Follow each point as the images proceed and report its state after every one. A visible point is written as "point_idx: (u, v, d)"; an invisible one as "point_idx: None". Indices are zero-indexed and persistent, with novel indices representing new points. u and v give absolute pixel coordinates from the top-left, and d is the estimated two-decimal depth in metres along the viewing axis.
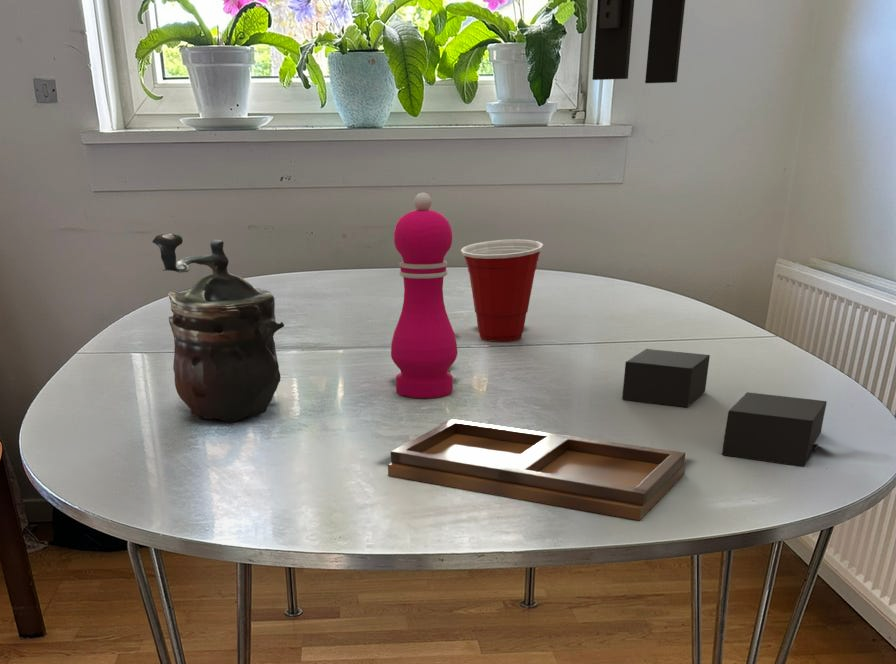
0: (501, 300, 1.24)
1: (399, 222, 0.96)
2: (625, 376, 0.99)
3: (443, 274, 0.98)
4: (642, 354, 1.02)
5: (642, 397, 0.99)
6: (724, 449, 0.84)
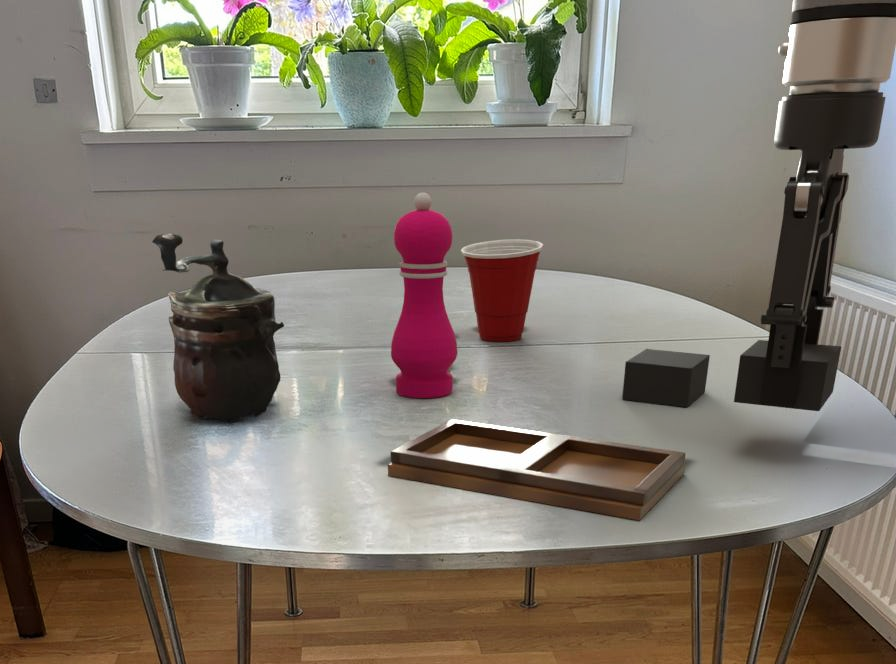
0: (501, 300, 1.24)
1: (399, 222, 0.96)
2: (625, 376, 0.99)
3: (443, 274, 0.98)
4: (642, 354, 1.02)
5: (642, 397, 0.99)
6: (736, 396, 0.81)
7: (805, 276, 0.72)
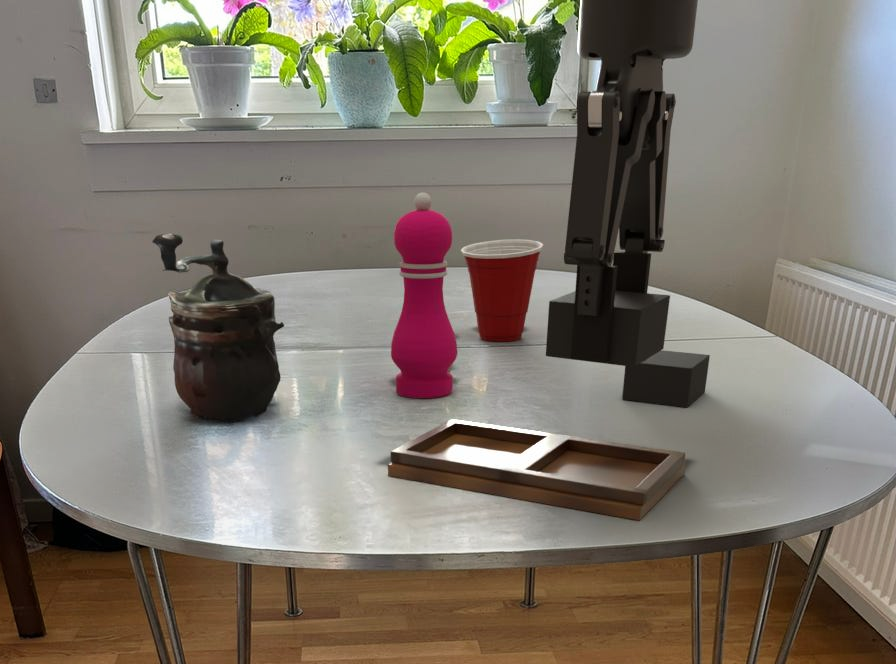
0: (501, 300, 1.24)
1: (399, 222, 0.96)
2: (625, 376, 0.99)
3: (443, 274, 0.98)
4: None
5: (642, 397, 0.99)
6: (547, 349, 0.71)
7: (603, 205, 0.62)
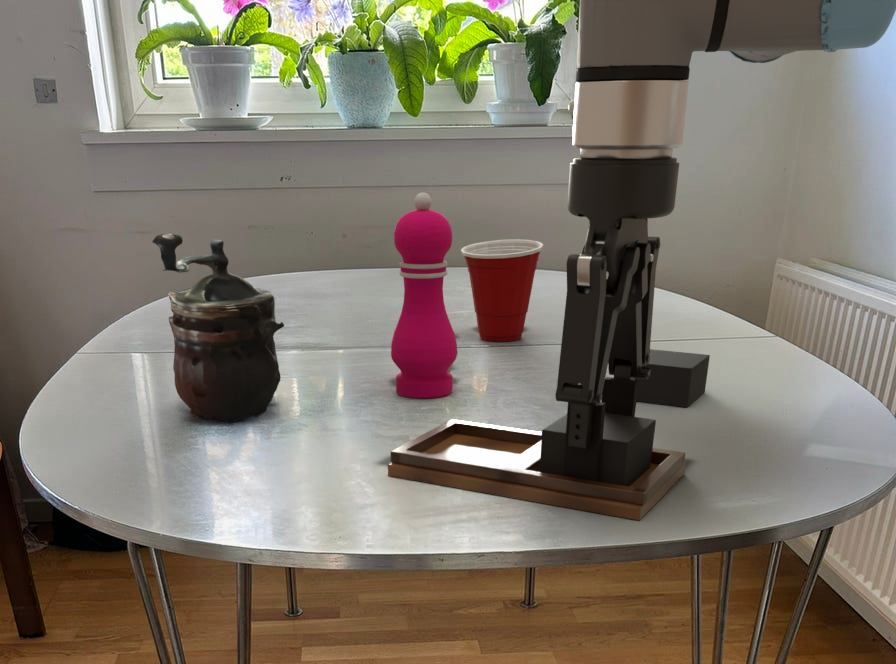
0: (501, 300, 1.24)
1: (399, 222, 0.96)
2: None
3: (443, 274, 0.98)
4: None
5: (642, 397, 0.99)
6: None
7: (591, 355, 0.66)
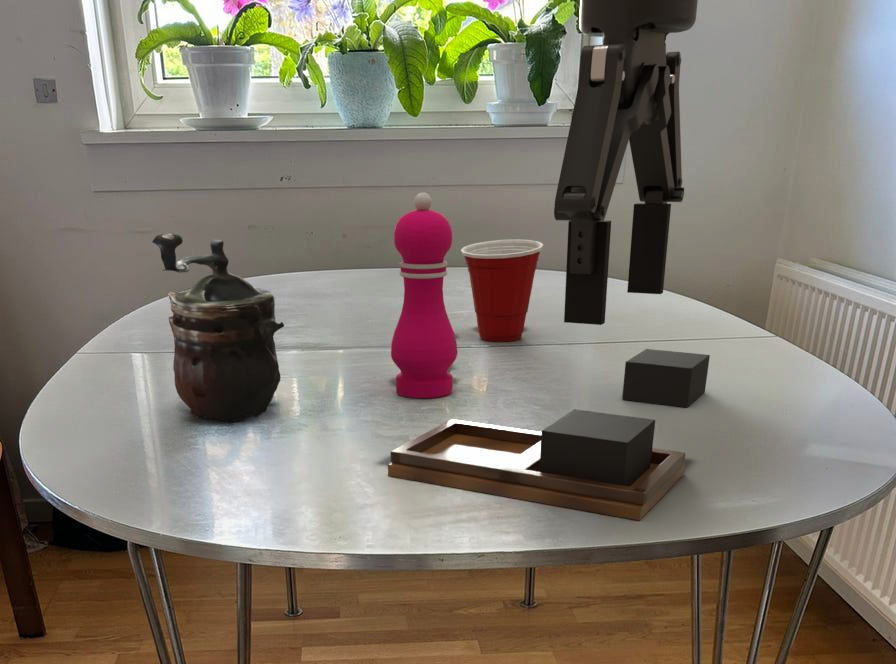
0: (501, 300, 1.24)
1: (399, 222, 0.96)
2: (625, 376, 0.99)
3: (443, 274, 0.98)
4: (642, 354, 1.02)
5: (642, 397, 0.99)
6: None
7: (599, 153, 0.59)
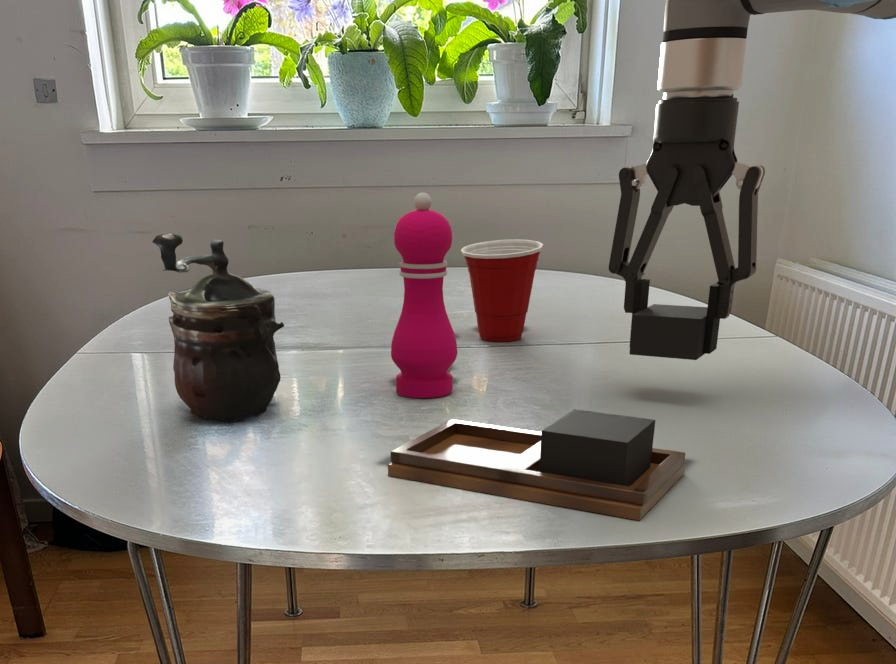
0: (501, 300, 1.24)
1: (399, 222, 0.96)
2: (632, 330, 0.97)
3: (443, 274, 0.98)
4: (649, 308, 0.99)
5: (650, 351, 0.97)
6: None
7: (613, 238, 0.96)
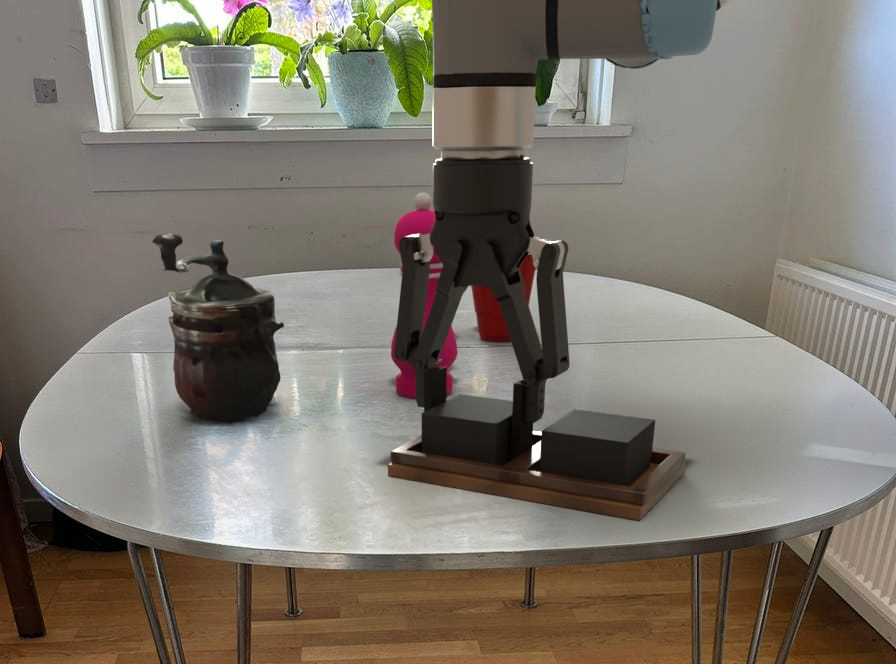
0: None
1: (399, 222, 0.96)
2: (422, 431, 0.80)
3: None
4: (449, 402, 0.82)
5: None
6: None
7: None
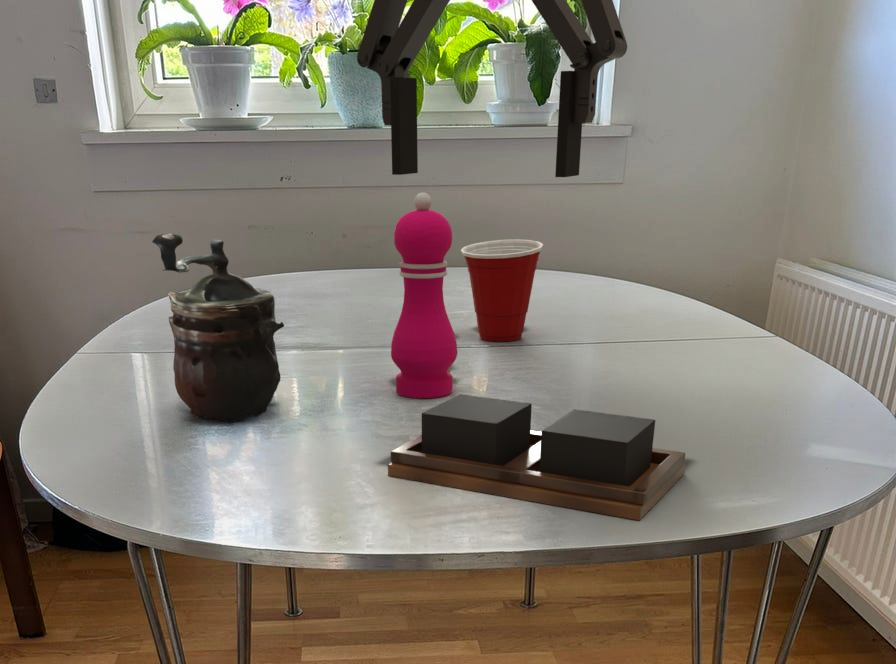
0: (501, 300, 1.24)
1: (399, 222, 0.96)
2: (422, 431, 0.80)
3: (443, 274, 0.98)
4: (449, 402, 0.82)
5: None
6: None
7: (370, 14, 0.69)
